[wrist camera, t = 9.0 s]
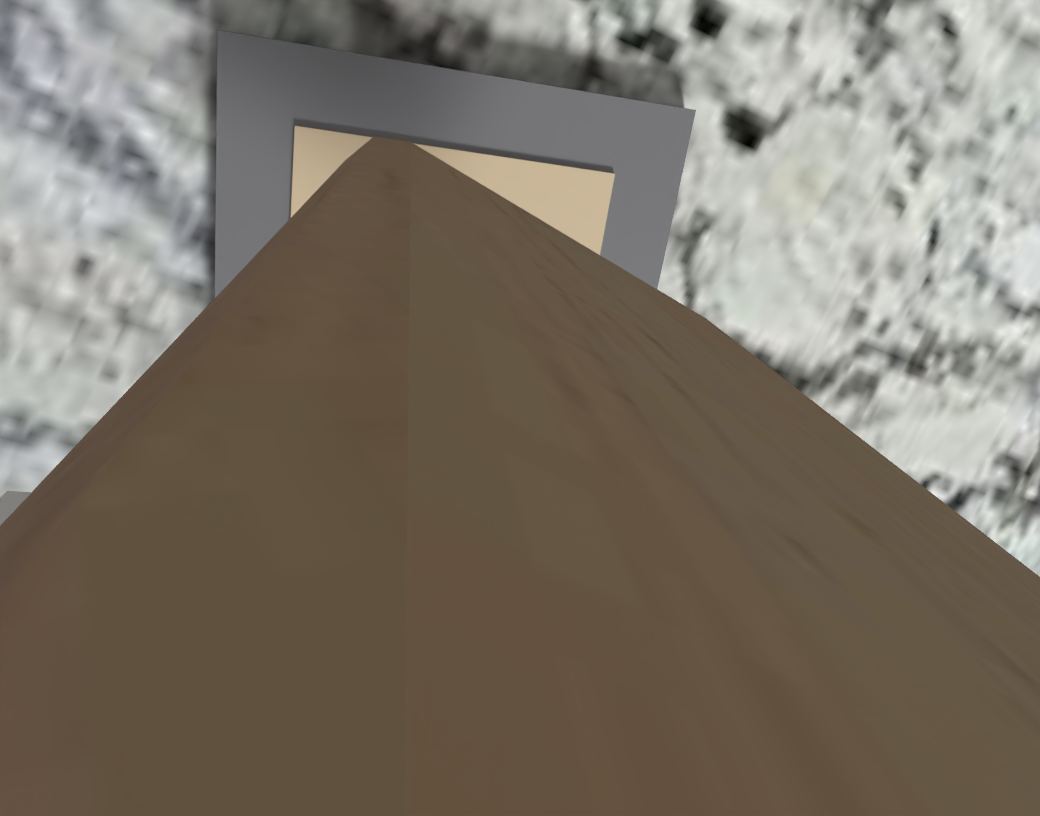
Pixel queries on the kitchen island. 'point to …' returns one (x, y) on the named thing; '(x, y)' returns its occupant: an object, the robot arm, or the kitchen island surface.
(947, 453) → the kitchen island surface
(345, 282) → the wooden block
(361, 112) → the board
